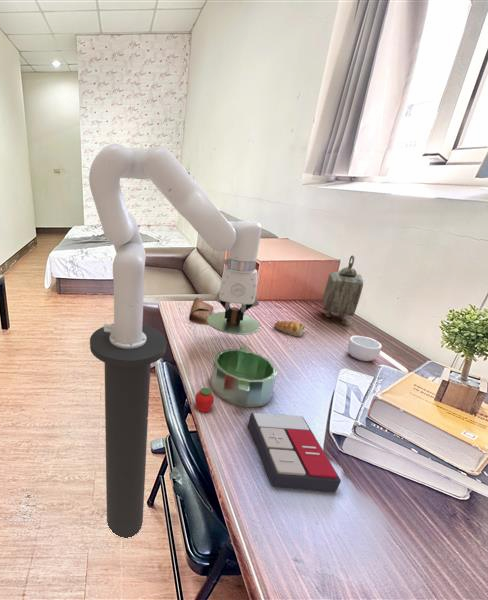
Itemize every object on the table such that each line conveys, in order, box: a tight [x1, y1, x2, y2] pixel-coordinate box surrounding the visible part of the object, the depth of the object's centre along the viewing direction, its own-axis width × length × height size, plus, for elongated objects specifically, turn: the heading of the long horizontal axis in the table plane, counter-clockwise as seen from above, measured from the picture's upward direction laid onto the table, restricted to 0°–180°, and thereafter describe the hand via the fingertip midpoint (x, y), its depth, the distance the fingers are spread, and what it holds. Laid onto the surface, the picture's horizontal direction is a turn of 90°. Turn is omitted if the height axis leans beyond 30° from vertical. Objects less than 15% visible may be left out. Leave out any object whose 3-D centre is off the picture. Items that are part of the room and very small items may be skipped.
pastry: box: [274, 320, 306, 337], centre depth 111 cm, size 9×7×4 cm
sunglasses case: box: [188, 297, 214, 325], centre depth 124 cm, size 18×7×7 cm
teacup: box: [347, 335, 383, 362], centre depth 95 cm, size 10×8×5 cm
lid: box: [207, 306, 261, 336], centre depth 97 cm, size 16×16×6 cm
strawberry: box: [195, 387, 215, 413], centre depth 74 cm, size 4×4×5 cm
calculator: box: [247, 412, 342, 493], centre depth 61 cm, size 11×4×15 cm
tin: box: [210, 346, 278, 408], centre depth 80 cm, size 15×20×8 cm
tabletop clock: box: [322, 255, 364, 326], centre depth 116 cm, size 14×9×25 cm, turn 150°
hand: (233, 320), depth 97 cm, fingers closed on lid, 2 cm apart
